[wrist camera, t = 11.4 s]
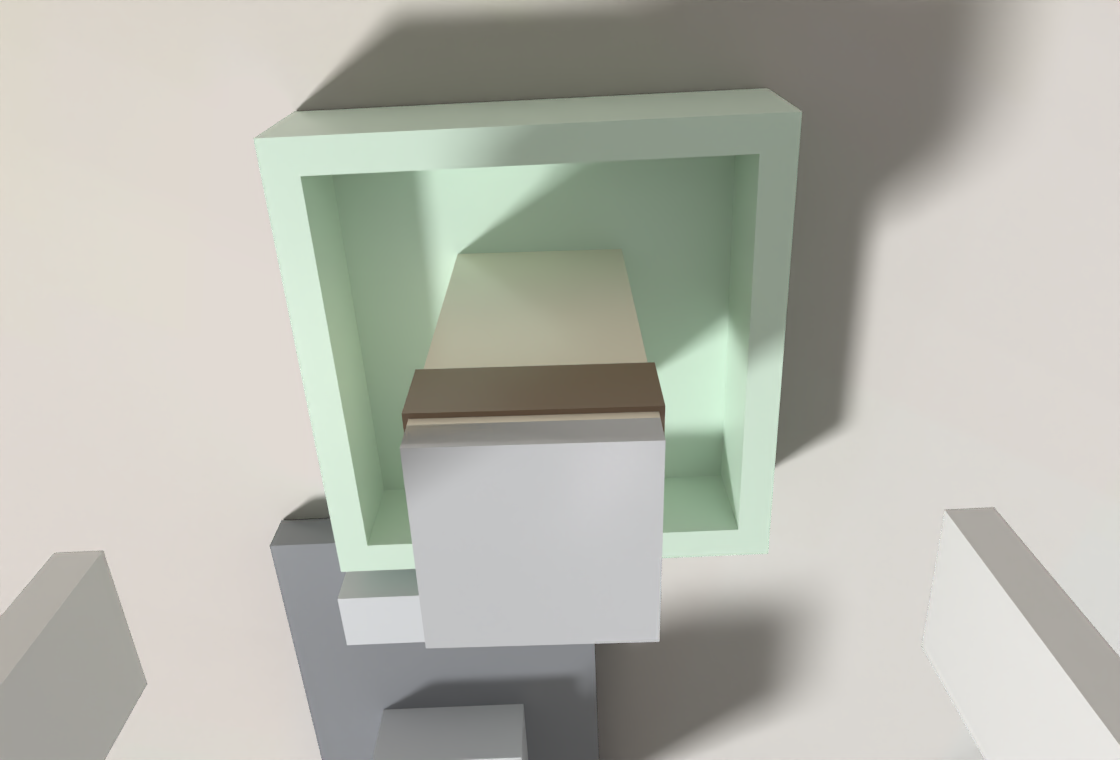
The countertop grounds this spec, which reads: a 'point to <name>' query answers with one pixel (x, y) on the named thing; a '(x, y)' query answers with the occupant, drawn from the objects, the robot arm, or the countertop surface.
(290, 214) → the tray
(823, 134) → the countertop surface
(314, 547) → the block
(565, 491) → the block
